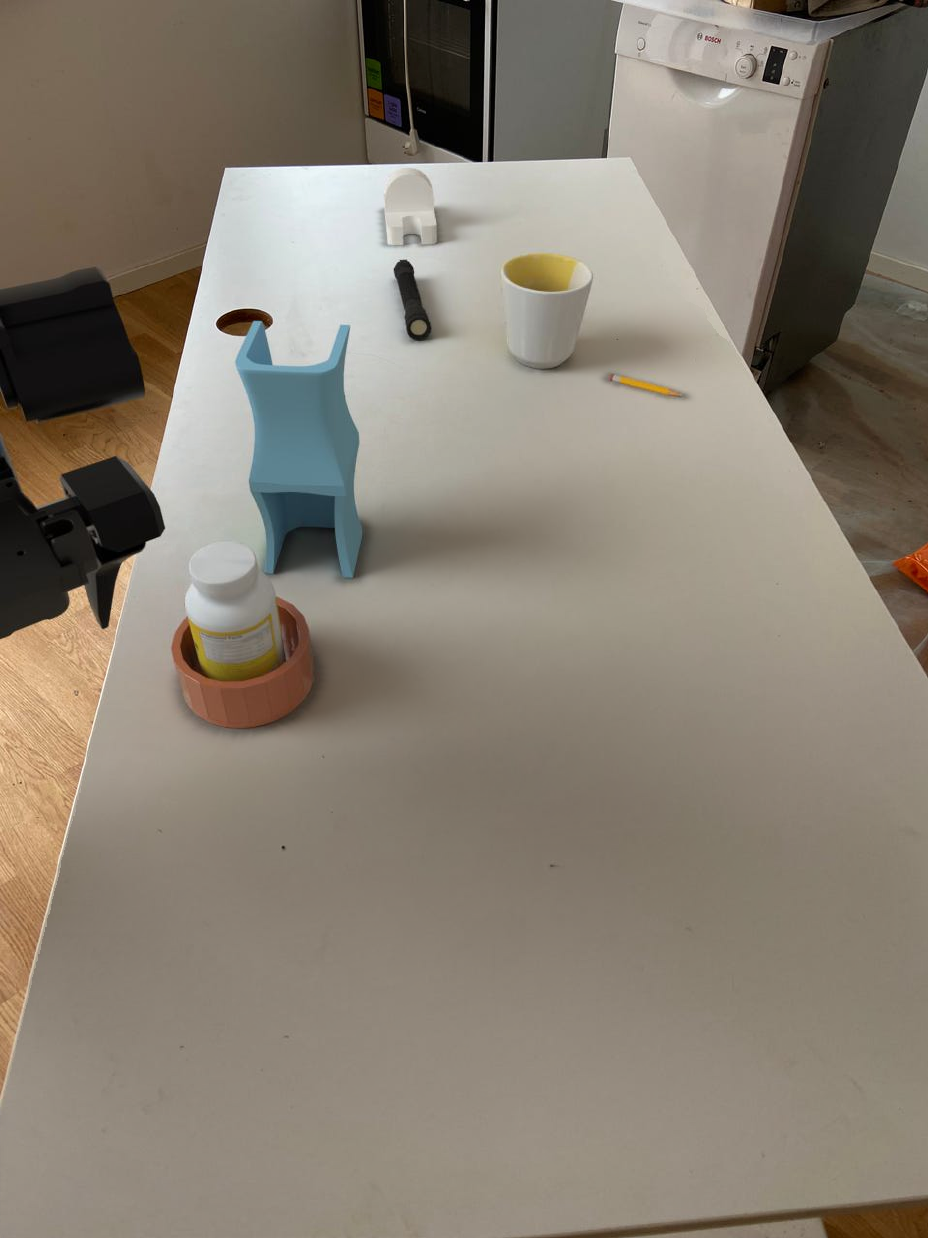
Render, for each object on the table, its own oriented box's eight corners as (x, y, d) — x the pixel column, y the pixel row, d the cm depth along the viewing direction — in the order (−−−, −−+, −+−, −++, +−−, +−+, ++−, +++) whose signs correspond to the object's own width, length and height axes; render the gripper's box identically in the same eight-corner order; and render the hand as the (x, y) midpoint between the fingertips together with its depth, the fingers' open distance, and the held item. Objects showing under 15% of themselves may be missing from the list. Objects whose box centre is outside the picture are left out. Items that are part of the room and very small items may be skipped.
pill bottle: (239, 634, 79) (216, 521, 71) (304, 663, 77) (287, 549, 69) (186, 685, 75) (155, 572, 67) (253, 717, 73) (229, 603, 65)
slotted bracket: (384, 209, 146) (382, 155, 141) (430, 208, 147) (429, 154, 141) (388, 245, 137) (385, 188, 131) (437, 244, 137) (436, 187, 132)
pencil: (611, 378, 111) (612, 373, 111) (683, 396, 109) (684, 391, 108) (609, 381, 111) (609, 376, 110) (681, 400, 108) (682, 394, 108)
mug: (590, 378, 111) (600, 290, 104) (501, 380, 110) (505, 292, 103) (573, 322, 121) (581, 238, 113) (491, 323, 120) (494, 239, 113)
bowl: (194, 743, 72) (182, 703, 69) (173, 650, 79) (162, 610, 76) (328, 708, 74) (323, 667, 71) (297, 621, 81) (291, 581, 78)
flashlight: (406, 341, 117) (406, 317, 115) (392, 281, 128) (391, 259, 126) (431, 339, 117) (431, 316, 115) (415, 280, 129) (414, 257, 127)
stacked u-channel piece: (365, 523, 91) (351, 323, 77) (352, 578, 85) (335, 373, 72) (282, 518, 91) (253, 319, 78) (264, 573, 86) (229, 369, 72)
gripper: (-240, 600, 41) (-96, 816, 51) (177, 455, 49) (226, 668, 59) (-278, 473, 47) (-143, 689, 58) (96, 363, 55) (153, 571, 66)
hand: (30, 654), depth 60 cm, fingers open, 9 cm apart
